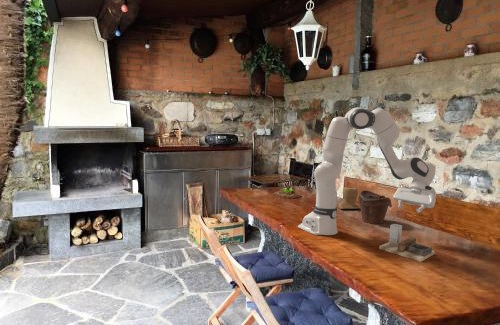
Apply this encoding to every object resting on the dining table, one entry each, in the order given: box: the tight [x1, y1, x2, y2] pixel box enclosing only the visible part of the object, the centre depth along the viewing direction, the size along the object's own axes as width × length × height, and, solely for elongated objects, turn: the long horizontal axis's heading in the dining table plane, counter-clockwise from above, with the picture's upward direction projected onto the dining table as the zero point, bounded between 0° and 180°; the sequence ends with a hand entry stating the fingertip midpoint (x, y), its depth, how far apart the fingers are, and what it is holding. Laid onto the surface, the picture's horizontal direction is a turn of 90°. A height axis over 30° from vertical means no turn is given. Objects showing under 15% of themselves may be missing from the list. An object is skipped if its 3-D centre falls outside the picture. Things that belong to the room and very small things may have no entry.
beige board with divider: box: [378, 236, 435, 263], centre depth 173 cm, size 20×15×6 cm
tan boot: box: [337, 187, 361, 210], centre depth 253 cm, size 15×12×15 cm
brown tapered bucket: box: [357, 190, 393, 225], centre depth 222 cm, size 18×20×18 cm
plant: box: [273, 181, 302, 200], centre depth 289 cm, size 20×20×11 cm
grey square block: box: [388, 223, 403, 247], centre depth 176 cm, size 4×4×10 cm
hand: (408, 210), depth 183 cm, fingers open, 8 cm apart
